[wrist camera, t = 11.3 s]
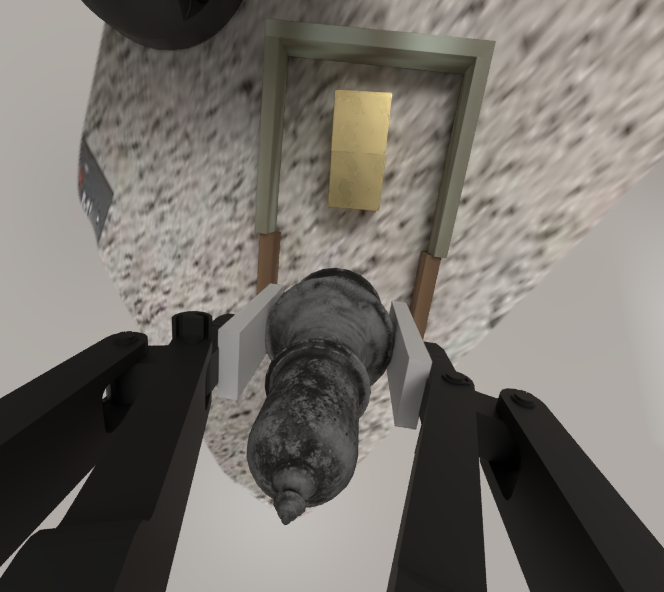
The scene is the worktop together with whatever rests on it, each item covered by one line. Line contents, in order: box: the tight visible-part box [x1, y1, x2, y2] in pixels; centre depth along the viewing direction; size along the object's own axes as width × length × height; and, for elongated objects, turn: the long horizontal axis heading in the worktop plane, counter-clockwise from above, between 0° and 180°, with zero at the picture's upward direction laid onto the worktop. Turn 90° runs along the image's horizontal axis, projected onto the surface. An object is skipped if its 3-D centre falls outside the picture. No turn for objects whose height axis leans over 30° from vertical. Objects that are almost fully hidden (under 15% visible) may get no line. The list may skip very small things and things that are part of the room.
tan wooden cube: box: [328, 151, 386, 211], centre depth 26 cm, size 4×4×4 cm
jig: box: [255, 19, 496, 340], centre depth 27 cm, size 16×25×3 cm, turn 173°
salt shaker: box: [247, 268, 394, 525], centre depth 12 cm, size 6×6×12 cm
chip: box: [331, 90, 392, 155], centre depth 25 cm, size 4×4×4 cm
